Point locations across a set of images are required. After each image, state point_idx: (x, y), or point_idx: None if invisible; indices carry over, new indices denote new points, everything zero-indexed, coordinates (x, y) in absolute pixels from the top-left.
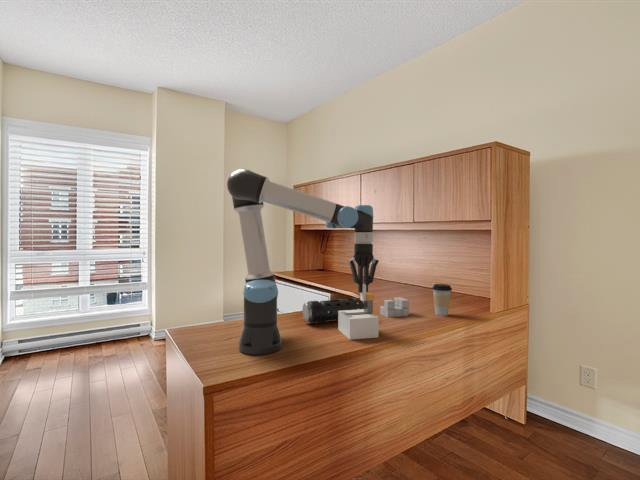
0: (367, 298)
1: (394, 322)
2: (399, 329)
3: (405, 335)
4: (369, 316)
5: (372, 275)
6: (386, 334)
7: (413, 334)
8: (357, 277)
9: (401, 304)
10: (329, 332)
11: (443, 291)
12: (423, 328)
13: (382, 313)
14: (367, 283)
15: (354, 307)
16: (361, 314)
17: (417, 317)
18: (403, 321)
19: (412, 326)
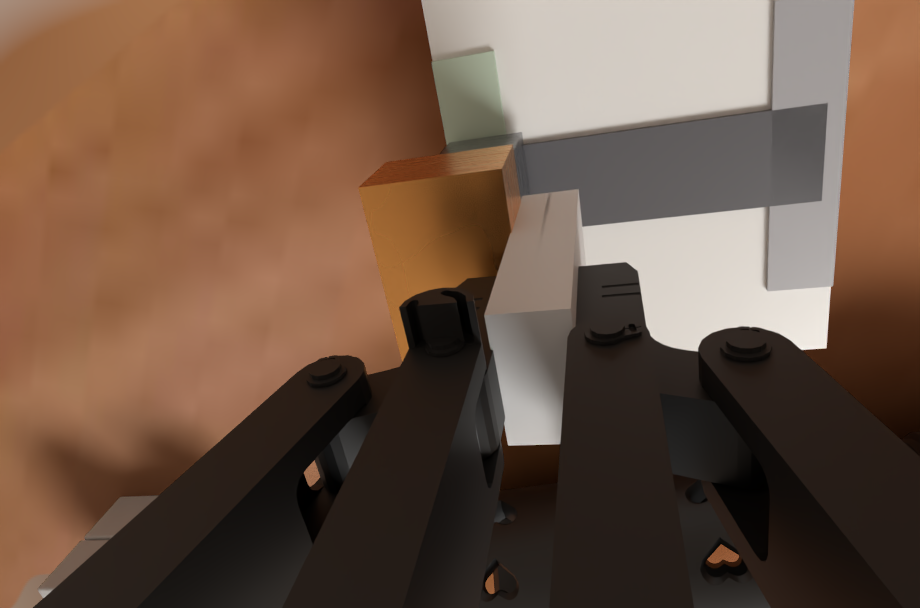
0: (507, 154)
1: (242, 368)
2: (233, 189)
3: (211, 12)
4: (527, 15)
5: (219, 485)
6: (368, 59)
7: (141, 35)
8: (782, 434)
9: None
10: (896, 181)
11: None
12: (49, 191)
13: None
14: (449, 311)
15: (542, 528)
16: (599, 133)
17: (68, 447)
18: (173, 380)
19: (124, 252)
